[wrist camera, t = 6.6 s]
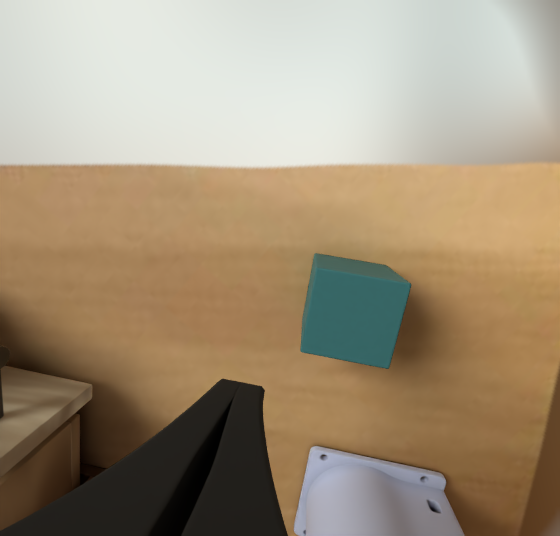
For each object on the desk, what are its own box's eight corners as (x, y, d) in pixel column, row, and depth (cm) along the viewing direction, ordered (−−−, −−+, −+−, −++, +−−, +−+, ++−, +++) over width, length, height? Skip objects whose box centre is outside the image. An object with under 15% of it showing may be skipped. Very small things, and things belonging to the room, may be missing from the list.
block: (386, 265, 17) (412, 283, 13) (370, 331, 18) (389, 369, 14) (314, 252, 18) (316, 267, 13) (302, 318, 19) (300, 352, 14)
